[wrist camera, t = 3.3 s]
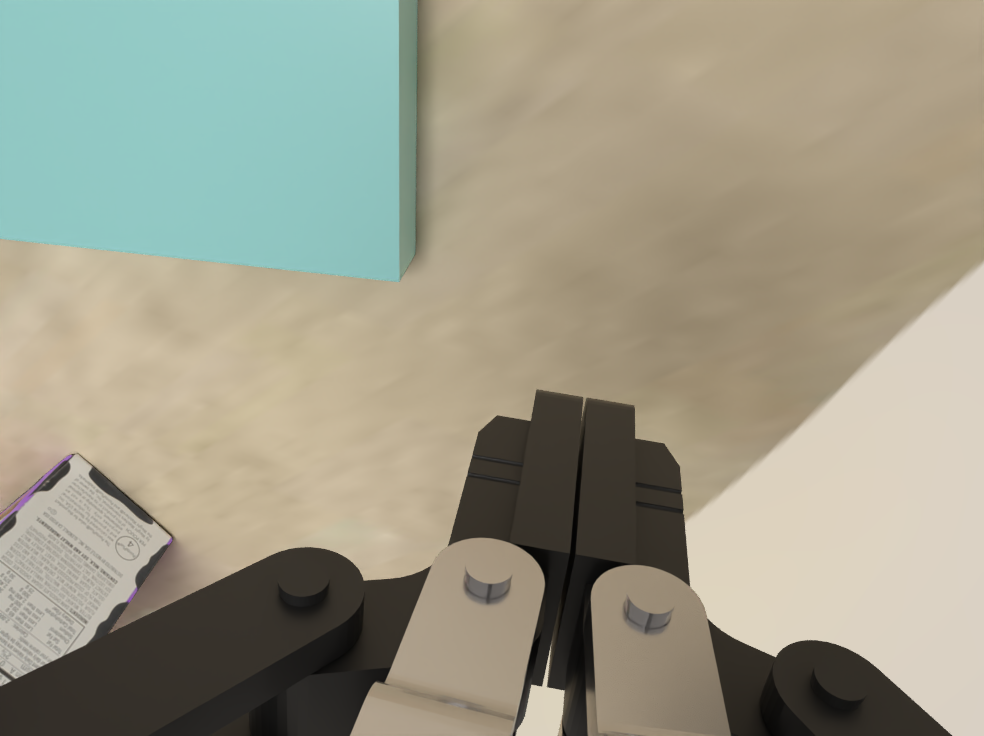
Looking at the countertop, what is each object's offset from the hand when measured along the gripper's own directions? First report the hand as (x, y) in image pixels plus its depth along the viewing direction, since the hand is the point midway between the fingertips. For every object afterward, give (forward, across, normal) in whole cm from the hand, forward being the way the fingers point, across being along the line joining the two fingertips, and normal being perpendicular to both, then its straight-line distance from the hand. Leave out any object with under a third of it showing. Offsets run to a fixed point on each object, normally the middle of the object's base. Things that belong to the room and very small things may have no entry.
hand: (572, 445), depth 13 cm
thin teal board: (+16, +14, 0) cm, 21 cm away
